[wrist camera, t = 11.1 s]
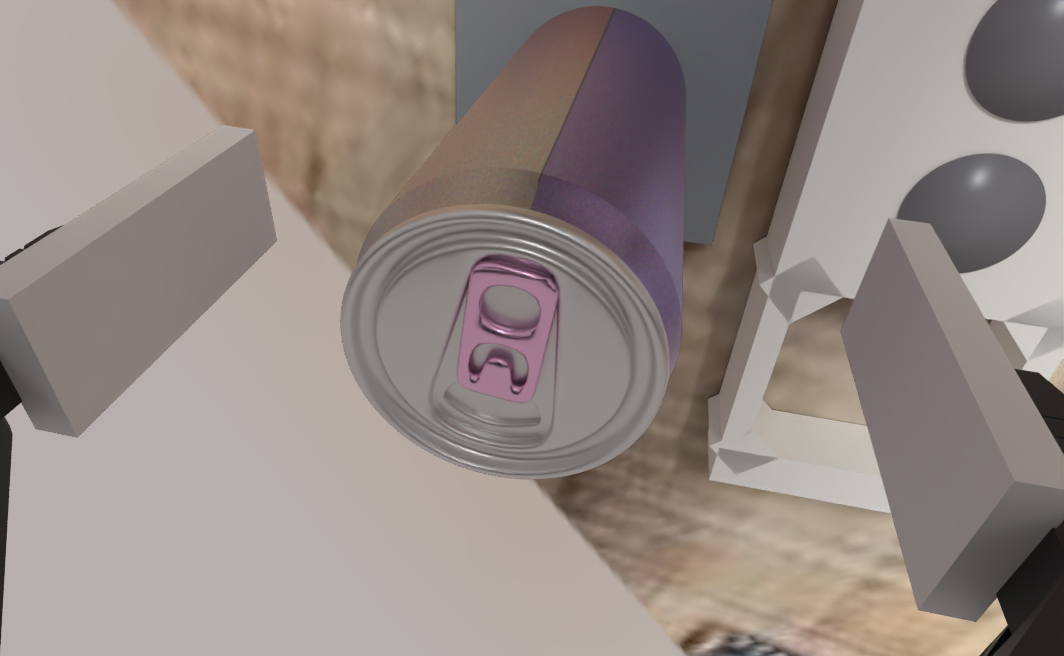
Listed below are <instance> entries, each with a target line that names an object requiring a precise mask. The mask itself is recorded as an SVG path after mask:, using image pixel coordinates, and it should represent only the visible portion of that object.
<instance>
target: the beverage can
mask: <svg viewBox="0 0 1064 656" xmlns="http://www.w3.org/2000/svg"><path fill="white" fill-rule="evenodd" d="M685 127H686V87H685V80H684V75H683V72H682V68H681V65H680V63H679V60H678V58H677V56H676V54H675V52H674V50H673V49H672V47H671V46H670V44H669V43H668V41H667V40H666V39H665V38H664V37H663V35H662V34H661V33H660V32H659V31H658V30H657V29H656V28H654V27H653V26H652V25H651V24H649V23H648V22H647V21H645V20H644V19H642V18H640V17H638V16H636V15H634V14H632V13H630V12H627V11H624V10H621V9H617V8H612V7H605V6H588V7H581V8H576V9H572V10H569V11H566V12H564V13H562V14H559V15H557V16H555V17H553V18H552V19H550V20H549V21H547V22H546V23H544V24H543V25H542V26H540V27H539V28H538V29H537V30H536V31H535V32H534V33H533V34H532V35H531V36H530V37H529V38H528V40H527V41H526V42H525V43H524V44H523V46H522V47H521V48H520V49H519V50H518V52H517V53H516V54H515V55H514V56H513V58H512V59H511V60H510V61H509V62H508V64H507V65H506V66H505V67H504V68H503V70H502V71H501V72H500V73H499V74H498V75H497V77H496V78H495V79H494V80H493V81H492V83H491V84H490V85H489V86H488V87H487V89H486V90H485V91H484V92H483V93H482V95H481V96H480V97H479V98H478V99H477V101H476V102H475V103H474V104H473V105H472V107H471V108H470V109H469V110H468V111H467V113H466V114H465V115H464V116H463V117H462V119H461V120H460V121H459V122H458V123H457V125H456V126H455V127H454V128H453V129H452V131H451V132H450V133H449V134H448V135H447V137H446V138H445V139H444V140H443V141H442V143H441V144H440V145H439V146H438V147H437V149H436V150H435V151H434V152H433V153H432V155H431V156H430V157H429V158H428V159H427V161H426V162H425V163H424V164H423V165H422V167H421V168H420V169H419V170H418V171H417V173H416V174H415V175H414V176H413V177H412V179H411V180H410V181H409V182H408V183H407V185H406V186H405V187H404V188H403V189H402V191H401V192H400V193H399V194H398V195H397V197H396V198H395V199H394V200H393V201H392V203H391V204H390V205H389V206H388V207H387V208H386V210H385V211H384V212H383V213H382V214H381V216H380V217H379V218H378V220H377V221H376V222H375V224H374V225H373V227H372V228H371V230H370V231H369V233H368V235H367V237H366V239H365V241H364V243H363V246H362V248H361V251H360V254H359V258H358V262H357V266H356V267H355V269H354V271H353V273H352V275H351V277H350V279H349V281H348V284H347V287H346V290H345V293H344V297H343V301H342V307H341V321H340V322H341V336H342V342H343V347H344V351H345V355H346V358H347V361H348V364H349V366H350V369H351V371H352V374H353V376H354V377H355V380H356V381H357V383H358V385H359V387H360V388H361V390H362V391H363V393H364V394H365V396H366V397H367V399H368V400H369V402H370V403H371V404H372V405H373V407H374V408H375V409H376V410H377V411H378V412H379V413H380V415H381V416H382V417H383V418H384V419H385V420H386V421H387V422H388V423H390V425H392V426H393V427H394V428H395V429H396V430H397V431H398V432H400V433H401V434H403V435H404V436H405V437H406V438H408V439H409V440H411V441H412V442H413V443H415V444H416V445H418V446H419V447H421V448H423V449H424V450H426V451H428V452H430V453H431V454H434V455H435V456H437V457H439V458H441V459H444V460H446V461H448V462H450V463H453V464H455V465H458V466H461V467H464V468H466V469H469V470H473V471H476V472H480V473H484V474H488V475H494V476H499V477H506V478H516V479H548V478H557V477H563V476H568V475H573V474H577V473H580V472H584V471H587V470H590V469H592V468H595V467H597V466H600V465H602V464H604V463H606V462H608V461H610V460H611V459H613V458H615V457H616V456H618V455H620V454H621V453H623V452H624V451H625V450H626V449H628V448H629V447H630V446H631V445H633V444H634V443H635V442H636V441H637V440H638V439H639V438H640V437H641V436H642V434H643V433H644V432H645V431H646V430H647V428H648V427H649V426H650V424H651V423H652V421H653V420H654V418H655V416H656V415H657V413H658V410H659V408H660V406H661V404H662V401H663V398H664V395H665V392H666V387H667V383H668V379H669V378H670V375H671V373H672V371H673V369H674V366H675V364H676V361H677V358H678V354H679V349H680V344H681V337H682V295H683V239H684V183H685Z"/></svg>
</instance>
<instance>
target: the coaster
mask: <svg viewBox="0 0 1064 656" xmlns="http://www.w3.org/2000/svg"><path fill="white" fill-rule="evenodd" d="M772 2H773V0H456V125H457V123H458V122H459V121H460V120H461V119H462V117H463V116H464V115H465V114H466V113H467V111H468V110H469V109H470V108H471V107H472V105H473V104H474V103H475V102H476V101H477V99H478V98H479V97H480V96H481V95H482V93H483V92H484V91H485V90H486V89H487V87H488V86H489V85H490V84H491V83H492V81H493V80H494V79H495V78H496V77H497V75H498V74H499V73H500V72H501V71H502V70H503V68H504V67H505V66H506V65H507V64H508V62H509V61H510V60H511V59H512V58H513V56H514V55H515V54H516V53H517V52H518V50H519V49H520V48H521V47H522V46H523V44H524V43H525V42H526V41H527V40H528V38H529V37H530V36H531V35H532V34H533V33H534V32H535V31H536V30H537V29H538V28H539V27H540V26H542V25H543V24H544V23H546V22H547V21H549V20H550V19H552V18H553V17H555V16H557V15H559V14H562V13H564V12H566V11H569V10H572V9H576V8H581V7H588V6H605V7H612V8H617V9H621V10H624V11H627V12H630V13H632V14H634V15H636V16H638V17H640V18H642V19H644V20H645V21H647V22H648V23H649V24H651V25H652V26H653V27H654V28H656V29H657V30H658V31H659V32H660V33H661V34H662V35H663V37H664V38H665V39H666V40H667V41H668V43H669V44H670V46H671V47H672V49H673V50H674V52H675V54H676V56H677V58H678V60H679V63H680V65H681V68H682V72H683V75H684V80H685V87H686V127H685V183H684V239H683V241H685V242H692V243H699V244H706V245H712V242H713V238H714V234H715V230H716V226H717V222H718V218H719V214H720V210H721V206H722V202H723V198H724V194H725V190H726V186H727V182H728V178H729V174H730V170H731V166H732V162H733V158H734V154H735V150H736V146H737V142H738V138H739V134H740V130H741V126H742V122H743V118H744V114H745V110H746V106H747V102H748V98H749V94H750V90H751V86H752V82H753V78H754V74H755V70H756V66H757V62H758V58H759V54H760V50H761V46H762V42H763V38H764V34H765V30H766V26H767V22H768V18H769V14H770V10H771V6H772Z"/></svg>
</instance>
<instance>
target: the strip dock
mask: <svg viewBox="0 0 1064 656" xmlns="http://www.w3.org/2000/svg"><path fill="white" fill-rule="evenodd" d="M888 218H894V219H901V220H908V221H915V222H922V223H930V224H931V226H932V227H933V229H934V231H935V233H936V234H937V236H938V238H939V240H940V241H941V243H942V245H943V246H944V248H945V250H946V252H947V253H948V255H949V257H950V259H951V260H952V262H953V264H954V265H955V267H956V269H957V271H958V272H959V274H960V276H961V278H962V279H963V281H964V283H965V285H966V286H967V288H968V290H969V291H970V293H971V295H972V297H973V298H974V300H975V302H976V304H977V305H978V307H979V309H980V311H981V312H982V314H983V316H984V317H985V319H991V322H990V324H989V326H990V328H991V330H992V331H993V333H994V335H995V337H996V338H997V340H998V342H999V343H1000V345H1001V347H1002V349H1003V350H1004V352H1005V354H1006V356H1007V357H1008V359H1009V361H1010V363H1011V364H1012V366H1013V368H1014V369H1019V370H1026V371H1032V372H1038V373H1040V374H1041V375H1042V376H1043V377H1044V378H1046V379H1047V380H1048V381H1049V379H1050V378H1051V376H1052V375H1053V373H1054V372H1055V370H1056V369H1057V367H1058V366H1059V364H1060V363H1061V361H1062V360H1063V358H1064V0H838V3H837V6H836V9H835V13H834V16H833V19H832V23H831V26H830V29H829V33H828V36H827V39H826V42H825V46H824V49H823V52H822V56H821V59H820V62H819V66H818V69H817V72H816V75H815V79H814V82H813V85H812V89H811V92H810V95H809V99H808V102H807V105H806V109H805V112H804V115H803V118H802V122H801V125H800V128H799V132H798V135H797V138H796V142H795V145H794V148H793V152H792V155H791V158H790V161H789V165H788V168H787V171H786V175H785V178H784V181H783V185H782V188H781V191H780V194H779V198H778V201H777V204H776V208H775V211H774V214H773V218H772V221H771V224H770V228H769V231H768V234H767V236H766V237H764V238H763V239H761V240H759V241H757V242H756V243H754V244H753V247H754V253H755V260H756V266H757V271H756V274H755V277H754V280H753V284H752V287H751V290H750V294H749V297H748V300H747V304H746V307H745V310H744V313H743V317H742V320H741V323H740V327H739V330H738V333H737V337H736V340H735V343H734V347H733V350H732V353H731V356H730V360H729V363H728V366H727V370H726V373H725V376H724V380H723V383H722V386H721V390H720V393H719V394H717V395H715V396H713V397H711V398H709V399H708V417H709V429H708V461H709V480H712V481H718V482H723V483H728V484H734V485H739V486H745V487H750V488H755V489H761V490H766V491H772V492H777V493H783V494H788V495H793V496H799V497H804V498H810V499H815V500H821V501H826V502H831V503H837V504H842V505H848V506H853V507H858V508H864V509H869V510H875V511H880V512H886V513H891V511H890V507H889V503H888V500H887V496H886V493H885V489H884V485H883V482H882V478H881V475H880V471H879V467H878V464H877V460H876V457H875V453H874V449H873V446H872V442H871V439H870V435H869V431H868V428H867V426H864V425H858V424H852V423H846V422H840V421H834V420H829V419H823V418H817V417H811V416H805V415H799V414H793V413H788V412H782V411H776V410H771V408H770V407H769V406H768V405H767V404H766V402H765V401H764V400H763V397H764V394H765V391H766V388H767V385H768V383H769V380H770V377H771V374H772V371H773V369H774V366H775V363H776V360H777V357H778V354H779V352H780V349H781V346H782V343H783V340H784V338H785V335H786V332H787V329H788V326H789V324H790V323H792V322H794V321H796V320H798V319H801V318H803V317H805V316H807V315H809V314H811V313H813V312H815V311H817V310H819V309H821V308H823V307H825V306H827V305H829V304H831V303H833V302H835V301H837V300H839V299H841V298H843V297H845V298H851V299H854V298H855V296H856V293H857V291H858V289H859V286H860V284H861V282H862V279H863V277H864V275H865V272H866V270H867V268H868V265H869V263H870V260H871V258H872V256H873V253H874V251H875V249H876V246H877V244H878V242H879V239H880V237H881V235H882V232H883V230H884V227H885V225H886V223H887V220H888Z"/></svg>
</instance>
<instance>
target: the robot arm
mask: <svg viewBox="0 0 1064 656" xmlns="http://www.w3.org/2000/svg"><path fill="white" fill-rule="evenodd" d="M276 241H277V238H276V233H275V228H274V223H273V218H272V213H271V207H270V203H269V197H268V192H267V187H266V182H265V176H264V171H263V166H262V161H261V156H260V151H259V146H258V140H257V135H256V130H254V129H246V128H239V127H232V126H225V125H222V126H221V127H219V128H217V129H216V130H214V131H213V132H211V133H210V134H208V135H207V136H205V137H203V138H202V139H200V140H199V141H197V142H195V143H194V144H192V145H191V146H189V147H187V148H186V149H184V150H183V151H181V152H180V153H178V154H176V155H175V156H173V157H171V158H170V159H168V160H167V161H165V162H163V163H162V164H160V165H159V166H157V167H156V168H154V169H152V170H151V171H149V172H148V173H146V174H144V175H143V176H141V177H140V178H138V179H137V180H135V181H134V182H132V183H130V184H129V185H127V186H125V187H124V188H122V189H121V190H119V191H118V192H116V193H115V194H113V195H111V196H110V197H108V198H106V199H105V200H103V201H102V202H100V203H98V204H97V205H95V206H94V207H92V208H90V209H89V210H87V211H86V212H84V213H83V214H81V215H79V216H78V217H76V218H75V219H73V220H72V221H70V222H68V223H67V224H65V225H63V226H60V227H57V228H55V229H52V230H49V231H47V232H45V233H44V234H42V235H41V236H39V237H38V238H36V239H34V240H33V241H31V242H29V243H28V244H26V245H25V246H24V249H18V250H17V251H15V252H13V253H12V254H10V255H9V256H7V257H5V261H4V262H3V261H0V644H1V626H2V609H3V591H4V574H5V573H4V572H5V556H6V539H7V520H8V503H9V485H10V468H11V450H12V431H11V428H10V425H9V424H8V422H7V420H6V419H5V417H4V416H6V415H7V414H8V413H9V412H10V411H11V410H13V409H14V408H15V407H16V406H17V405H19V404H20V403H22V405H23V407H24V409H25V410H26V412H27V414H28V416H29V418H30V420H31V421H32V423H33V425H34V427H35V429H38V430H43V431H48V432H53V433H58V434H62V435H67V436H72V437H78V436H79V435H81V434H82V433H83V432H84V431H85V430H86V429H87V427H88V426H90V425H91V424H92V423H93V422H94V421H95V420H96V419H97V418H98V417H99V416H100V415H101V414H102V412H104V411H105V410H106V409H107V408H108V407H109V406H110V405H111V404H112V403H113V402H114V401H115V400H116V399H117V398H118V397H119V396H120V395H121V394H122V393H123V392H124V391H125V390H126V389H127V388H128V387H129V386H130V385H131V384H132V383H133V382H134V381H135V380H136V379H137V378H138V377H139V376H140V375H141V374H142V373H143V372H144V371H145V370H147V368H148V367H150V366H151V365H152V364H153V363H154V362H155V360H157V359H158V358H159V357H160V356H161V355H162V354H163V353H164V352H165V351H166V350H167V349H168V348H169V347H170V346H171V345H172V344H173V343H174V342H175V341H176V340H177V339H178V338H179V337H180V336H181V335H182V334H183V333H184V332H185V331H186V330H187V329H188V328H189V327H190V326H191V325H192V324H193V323H194V322H195V321H196V320H197V319H198V318H199V317H200V316H201V315H202V314H203V313H204V312H205V311H206V310H207V309H208V308H209V307H210V306H212V305H213V304H214V302H216V301H217V300H218V299H219V298H220V297H221V296H222V295H223V294H224V293H225V292H226V291H227V290H228V289H229V288H230V287H231V286H232V285H233V284H234V283H235V282H236V281H237V280H238V279H239V278H240V277H241V276H242V275H243V274H244V273H245V272H246V271H247V270H248V269H249V268H250V267H251V266H252V265H253V264H254V263H255V262H256V261H257V260H258V259H259V258H260V257H261V256H262V255H263V254H264V253H265V252H266V251H267V250H268V249H269V248H270V247H271V246H272V245H273V244H274V243H275V242H276ZM841 334H842V338H843V341H844V345H845V349H846V352H847V356H848V359H849V363H850V367H851V370H852V374H853V377H854V381H855V385H856V388H857V392H858V395H859V399H860V403H861V406H862V410H863V413H864V417H865V421H866V424H867V428H868V431H869V435H870V439H871V442H872V446H873V449H874V453H875V457H876V460H877V464H878V467H879V471H880V475H881V478H882V482H883V485H884V489H885V493H886V496H887V500H888V503H889V507H890V511H891V514H892V518H893V521H894V525H895V529H896V532H897V536H898V539H899V543H900V547H901V550H902V554H903V557H904V561H905V565H906V568H907V572H908V575H909V579H910V583H911V586H912V590H913V593H914V597H915V601H916V604H917V608H918V610H920V611H925V612H930V613H935V614H940V615H945V616H950V617H955V618H959V619H964V620H969V621H974V622H976V621H977V620H978V619H979V618H980V617H981V615H982V614H983V613H984V612H985V611H986V610H987V608H988V607H989V606H990V605H991V604H992V603H993V601H994V600H995V599H996V598H998V600H999V603H1000V606H1001V608H1002V611H1003V613H1004V616H1005V619H1006V621H1007V624H1008V625H1007V626H1006V628H1005V629H1004V630H1003V631H1002V632H1001V633H1000V634H999V635H998V636H997V637H996V638H995V640H994V641H993V642H992V643H991V644H990V645H989V646H988V647H987V648H986V649H985V650H984V651H983V653H982V654H981V655H980V656H1064V394H1063V393H1062V392H1061V391H1059V390H1058V389H1057V388H1056V387H1055V386H1054V385H1053V384H1051V383H1050V382H1049V381H1048V380H1047V379H1046V378H1044V377H1043V376H1042V375H1041V374H1040V373H1038V372H1032V371H1026V370H1019V369H1014V368H1013V366H1012V364H1011V363H1010V361H1009V359H1008V357H1007V356H1006V354H1005V352H1004V350H1003V349H1002V347H1001V345H1000V343H999V342H998V340H997V338H996V337H995V335H994V333H993V331H992V330H991V328H990V326H989V324H988V323H987V321H986V319H985V317H984V316H983V314H982V312H981V311H980V309H979V307H978V305H977V304H976V302H975V300H974V298H973V297H972V295H971V293H970V291H969V290H968V288H967V286H966V285H965V283H964V281H963V279H962V278H961V276H960V274H959V272H958V271H957V269H956V267H955V265H954V264H953V262H952V260H951V259H950V257H949V255H948V253H947V252H946V250H945V248H944V246H943V245H942V243H941V241H940V240H939V238H938V236H937V234H936V233H935V231H934V229H933V227H932V226H931V224H930V223H922V222H915V221H908V220H901V219H894V218H888V220H887V223H886V225H885V227H884V230H883V232H882V235H881V237H880V239H879V242H878V244H877V246H876V249H875V251H874V253H873V256H872V258H871V260H870V263H869V265H868V268H867V270H866V272H865V275H864V277H863V279H862V282H861V284H860V286H859V289H858V291H857V293H856V296H855V298H854V301H853V303H852V305H851V308H850V310H849V312H848V315H847V317H846V319H845V322H844V324H843V327H842V329H841Z"/></svg>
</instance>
